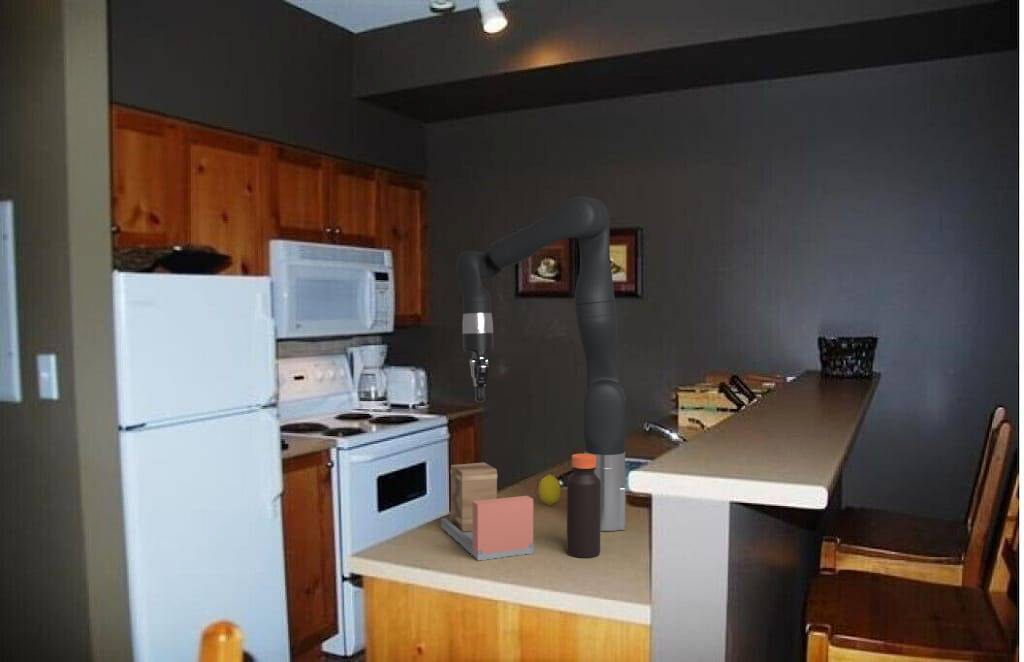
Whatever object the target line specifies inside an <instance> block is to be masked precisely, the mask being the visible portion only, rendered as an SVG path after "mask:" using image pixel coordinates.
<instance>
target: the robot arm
mask: <svg viewBox="0 0 1024 662" xmlns="http://www.w3.org/2000/svg"><path fill="white" fill-rule="evenodd" d="M610 228H611V226H610V214H609V210H608V208H607V206H606V205H605V204H604V203H603V202H602V201H601V200H599V199H597V198H593V197H588V196H587V197H586V196H575V197H572V198H570V199H569V200H567V201H566V202H563V203H562V204H561V205H560V206H558V207H557V208H555V209H554V210H552V211H551V212H550V213H548V214H547V215H545V216H544V217H541V218H540V219H538V220H537V221H535V222H533V223H531V224H530V225H528V226H525V227H523V228H521V229H519V230H517V231H515V232H513V233H510V234H508V235H505V236H504V237H501V238H500V239H499V238H498V239H497V240H495V241H494V242H492V243H490V246H489V248H488V249H487V250H485V251H476V250H465V251H463V252H461V253H460V254H459V256H458V257H457V260H456V262H455V263H456V264H455V273H456V277H457V278H456V279H457V282H458V286H459V290H460V292H461V296H462V316H463V317H462V347H463V349H462V350H463V351H464V352H471V353H472V354H471V358H470V359H469V368H470V374H471V375H470V376H471V379H472V380H471V383H472V384H473V386H474V400H475V403H484V402H485V401H486V395H485V394H486V392H485V391H486V389H485V387H486V385H487V384H488V375H489V368H490V366H489V359H488V358H487V355H486V352H489V351H494V325H493V324H494V320H493V315H492V297H491V292H490V291H489V290H487V289H485V288H484V286H483V283H482V281H487V280H490V279H492V278H494V277H495V276H498V275H499V274H500V273H501V272H503V271H504V270H505V269H506V268H510V267H511V266H513V265H516V264H519V263H521V262H523V261H526V260H527V259H530V258H531V257H533V256H534V255H536V254H537V253H538V252H540V251H541V250H542V249H543V248H545V247H546V246H549V245H551V244H554V243H555V242H560V241H563V240H566V239H570V238H577V240H578V247H579V253H580V255H579V256H580V264H579V272H578V276H577V279H576V284H575V290H574V305H575V306H574V308H575V318H576V324H577V330H578V334H579V337H580V339H579V340H580V342H581V346H582V349H583V352H584V356H585V357H584V358H585V362H586V381H587V382H586V393H585V394H584V395H585V396H584V400H583V439H584V441H583V442H584V454H592V455H595V456H596V467H595V468H596V469H595V470H594V474H595V475H596V476H597V477H598V478H599V479H600V481H601V507H600V532H613V531H614V532H615V531H625V530H626V403H627V402H626V401H627V398H626V394H625V393H626V392H625V390H624V386H623V382H622V378H621V377H622V376H621V373H620V366H619V360H618V316H617V315H618V313H617V304H616V298H615V291H614V289H615V288H614V282H613V271H612V264H611V254H610V252H611V251H610V250H611V248H610V247H611V246H610V245H611V244H610V241H611V240H610V232H611V231H610V230H611V229H610Z"/></svg>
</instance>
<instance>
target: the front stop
mask: <svg viewBox="0 0 1024 662" xmlns="http://www.w3.org/2000/svg"><path fill="white" fill-rule="evenodd" d="M529 543H533V544H534V498H533V497H530V496H529V495H523V496H522V495H520V496H519V495H518V496H512V497H511V496H509V497H501V498H497V499H490V500H480V501H473V551H474V552H475V553H476V554H477V555H478V550H481V549H483V554H489V553H497V552H504V551H512V550H520V549H527V548H529Z"/></svg>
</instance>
